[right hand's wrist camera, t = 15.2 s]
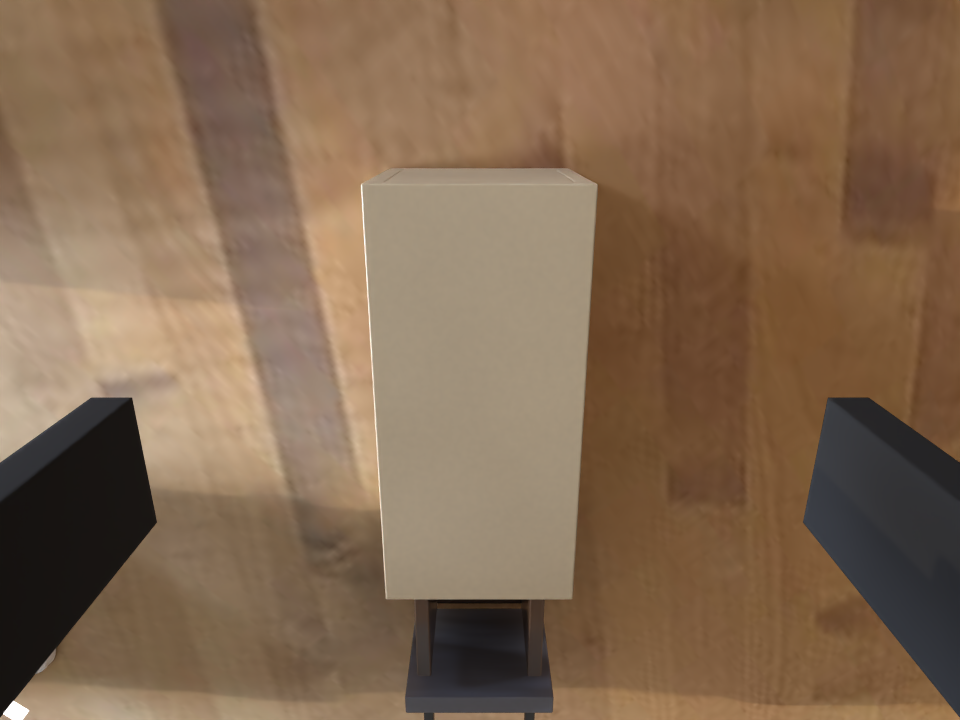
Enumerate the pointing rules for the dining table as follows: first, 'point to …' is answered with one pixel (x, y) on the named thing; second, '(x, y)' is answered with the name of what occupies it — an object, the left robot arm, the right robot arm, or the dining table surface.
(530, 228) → the cabinet
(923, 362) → the dining table surface
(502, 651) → the drawer
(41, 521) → the right robot arm
